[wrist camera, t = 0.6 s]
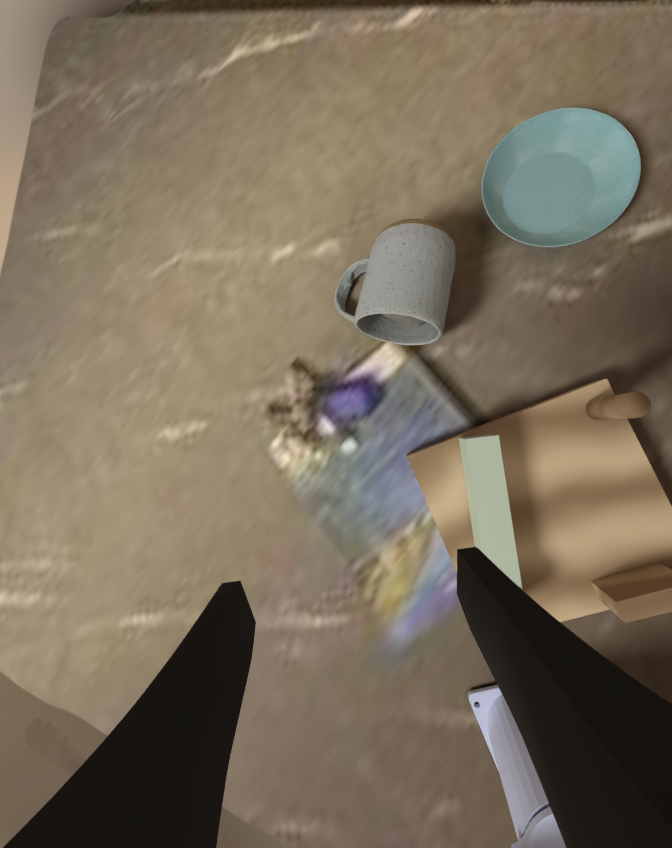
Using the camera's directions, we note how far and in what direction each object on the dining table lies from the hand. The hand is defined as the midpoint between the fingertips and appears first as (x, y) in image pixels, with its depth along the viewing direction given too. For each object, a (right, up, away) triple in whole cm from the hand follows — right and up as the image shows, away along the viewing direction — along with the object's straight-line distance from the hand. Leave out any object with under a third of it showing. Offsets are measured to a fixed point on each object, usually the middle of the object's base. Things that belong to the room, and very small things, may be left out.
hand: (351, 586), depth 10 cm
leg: (+12, -3, +16) cm, 20 cm away
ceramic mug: (+5, +17, +21) cm, 27 cm away
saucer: (+19, +26, +18) cm, 37 cm away
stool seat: (+17, -2, +17) cm, 24 cm away
